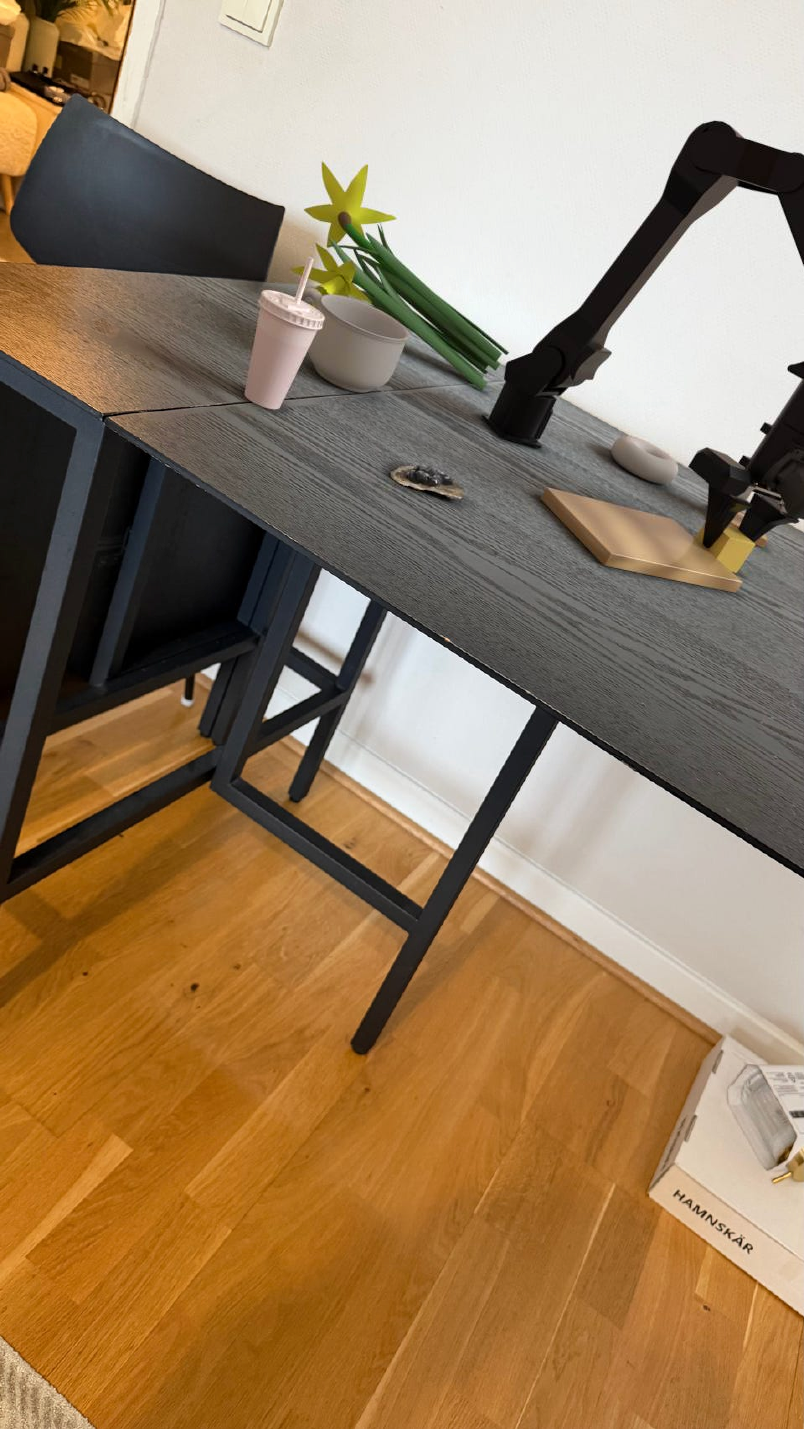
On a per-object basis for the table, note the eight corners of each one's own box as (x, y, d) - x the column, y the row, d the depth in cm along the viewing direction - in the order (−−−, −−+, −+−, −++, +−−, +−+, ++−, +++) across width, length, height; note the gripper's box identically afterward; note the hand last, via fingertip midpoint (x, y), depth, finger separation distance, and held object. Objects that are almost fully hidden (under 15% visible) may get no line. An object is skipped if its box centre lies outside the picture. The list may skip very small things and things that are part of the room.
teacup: (400, 401, 114) (426, 336, 110) (351, 404, 106) (378, 334, 101) (312, 347, 118) (335, 283, 114) (258, 346, 109) (280, 276, 105)
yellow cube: (710, 567, 111) (729, 537, 109) (689, 547, 114) (707, 518, 112) (736, 573, 113) (755, 544, 111) (714, 553, 116) (733, 525, 114)
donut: (606, 465, 130) (672, 495, 131) (618, 442, 129) (685, 473, 129) (606, 447, 139) (668, 476, 139) (618, 425, 137) (680, 454, 137)
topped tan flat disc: (473, 508, 94) (481, 491, 93) (408, 497, 90) (416, 479, 89) (440, 475, 98) (448, 458, 97) (377, 462, 94) (384, 445, 93)
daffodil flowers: (476, 410, 129) (263, 231, 119) (443, 430, 143) (251, 271, 133) (545, 311, 130) (339, 125, 120) (506, 340, 144) (319, 176, 134)
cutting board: (603, 565, 96) (611, 553, 95) (539, 498, 106) (546, 486, 105) (735, 593, 107) (743, 582, 106) (666, 529, 116) (673, 519, 115)
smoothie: (302, 410, 97) (351, 272, 90) (276, 420, 92) (326, 274, 85) (248, 381, 98) (292, 242, 91) (219, 390, 92) (264, 242, 85)
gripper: (793, 441, 95) (705, 572, 102) (899, 483, 104) (811, 600, 112) (727, 395, 102) (649, 521, 110) (832, 439, 112) (754, 552, 120)
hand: (719, 550), depth 113 cm, fingers closed on yellow cube, 4 cm apart
